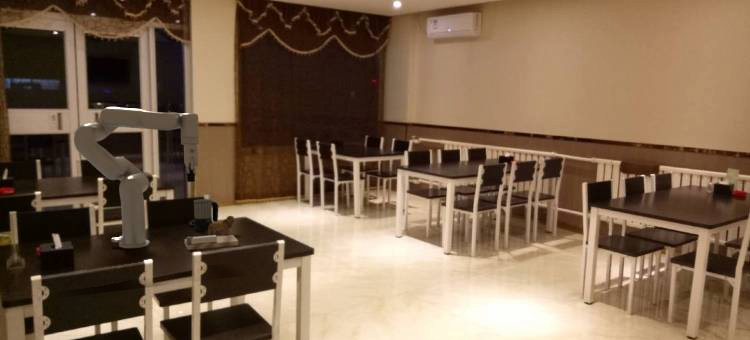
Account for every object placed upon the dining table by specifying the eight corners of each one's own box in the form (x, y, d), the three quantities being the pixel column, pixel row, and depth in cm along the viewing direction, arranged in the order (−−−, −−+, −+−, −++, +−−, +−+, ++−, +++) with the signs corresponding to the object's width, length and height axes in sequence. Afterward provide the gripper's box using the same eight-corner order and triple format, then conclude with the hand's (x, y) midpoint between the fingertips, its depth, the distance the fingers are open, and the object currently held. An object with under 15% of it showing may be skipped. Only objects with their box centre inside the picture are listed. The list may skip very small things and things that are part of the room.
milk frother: (206, 231, 283) (206, 202, 281) (178, 229, 287) (178, 200, 285) (221, 225, 296) (220, 197, 295) (194, 223, 300) (193, 196, 298)
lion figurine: (231, 232, 284) (231, 214, 283) (236, 234, 280) (236, 216, 278) (203, 236, 274) (203, 218, 273) (208, 238, 270) (208, 219, 269)
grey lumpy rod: (187, 244, 250) (187, 238, 249) (186, 243, 252) (186, 237, 252) (216, 241, 255) (216, 235, 255) (215, 240, 258) (215, 234, 257)
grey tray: (188, 250, 250) (187, 240, 249) (184, 243, 260) (184, 234, 260) (238, 245, 259) (238, 235, 258) (232, 239, 270) (232, 230, 269)
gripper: (201, 142, 248) (202, 183, 250) (196, 139, 261) (197, 178, 263) (183, 142, 244) (184, 184, 247) (179, 139, 258) (180, 179, 260)
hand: (190, 181), depth 255 cm, fingers closed
